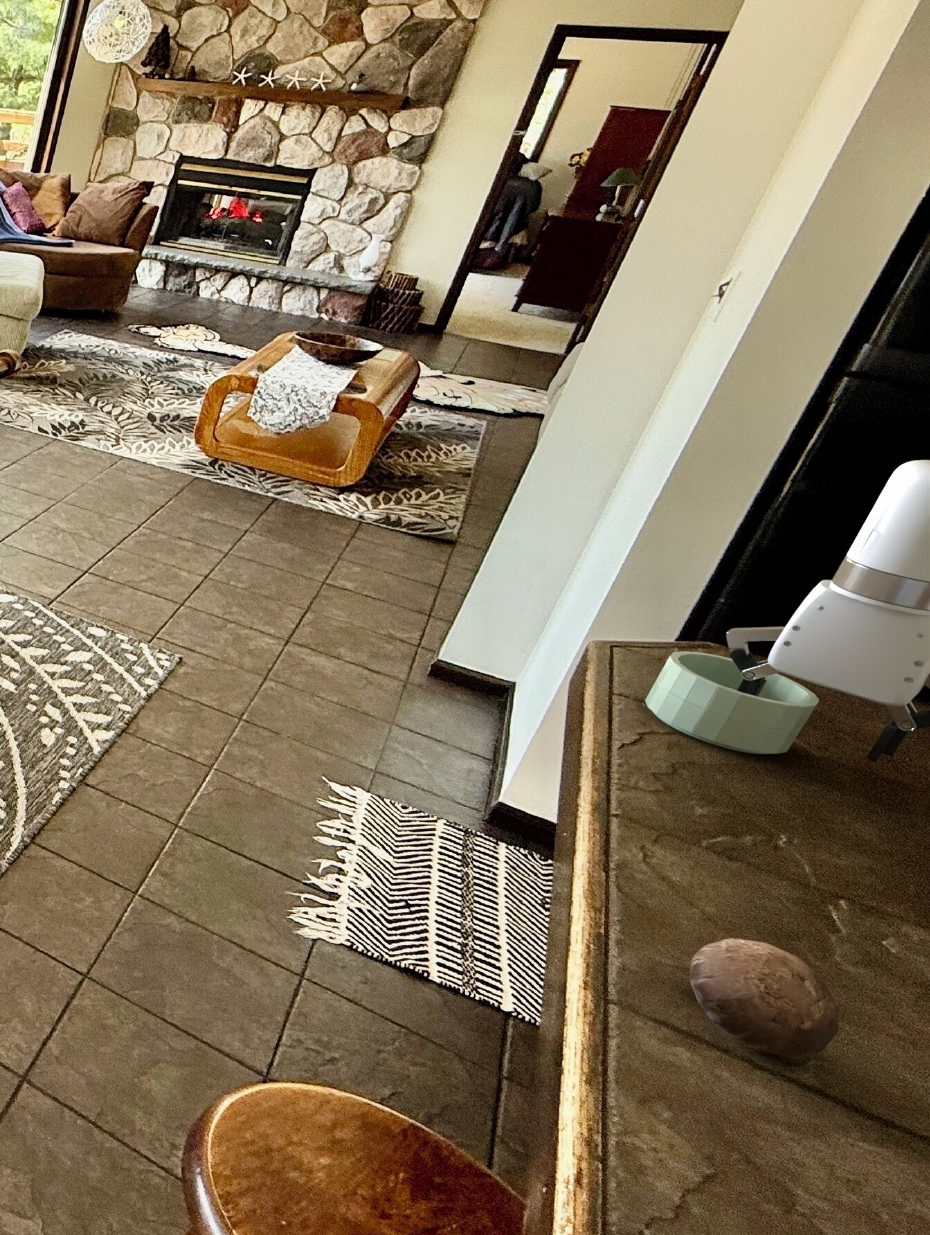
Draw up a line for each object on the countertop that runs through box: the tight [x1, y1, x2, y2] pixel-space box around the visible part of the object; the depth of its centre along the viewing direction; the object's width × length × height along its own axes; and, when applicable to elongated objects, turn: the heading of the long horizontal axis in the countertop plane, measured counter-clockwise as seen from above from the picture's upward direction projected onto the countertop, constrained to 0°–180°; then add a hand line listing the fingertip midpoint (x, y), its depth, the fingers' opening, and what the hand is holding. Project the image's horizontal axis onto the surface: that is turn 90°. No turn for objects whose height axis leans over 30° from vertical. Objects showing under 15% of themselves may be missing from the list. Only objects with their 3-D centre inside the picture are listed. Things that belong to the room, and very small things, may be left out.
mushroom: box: [689, 937, 839, 1057], centre depth 73 cm, size 8×8×6 cm
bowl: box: [644, 650, 820, 755], centre depth 113 cm, size 11×11×6 cm
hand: (805, 734), depth 108 cm, fingers open, 9 cm apart
